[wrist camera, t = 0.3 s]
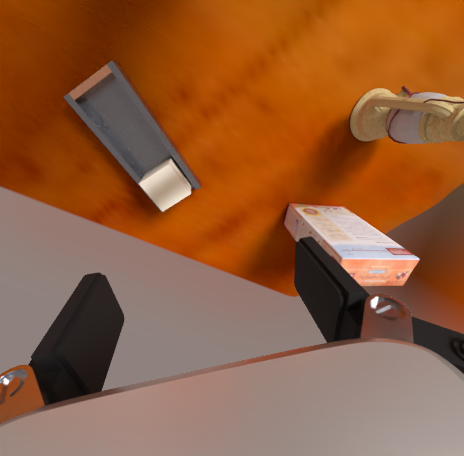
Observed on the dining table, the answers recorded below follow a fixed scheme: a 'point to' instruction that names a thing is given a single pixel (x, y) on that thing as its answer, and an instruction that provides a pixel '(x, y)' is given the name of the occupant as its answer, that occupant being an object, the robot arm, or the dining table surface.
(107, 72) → the grey shallow tray
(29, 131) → the dining table surface
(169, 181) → the block
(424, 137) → the lantern
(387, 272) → the cracker box
